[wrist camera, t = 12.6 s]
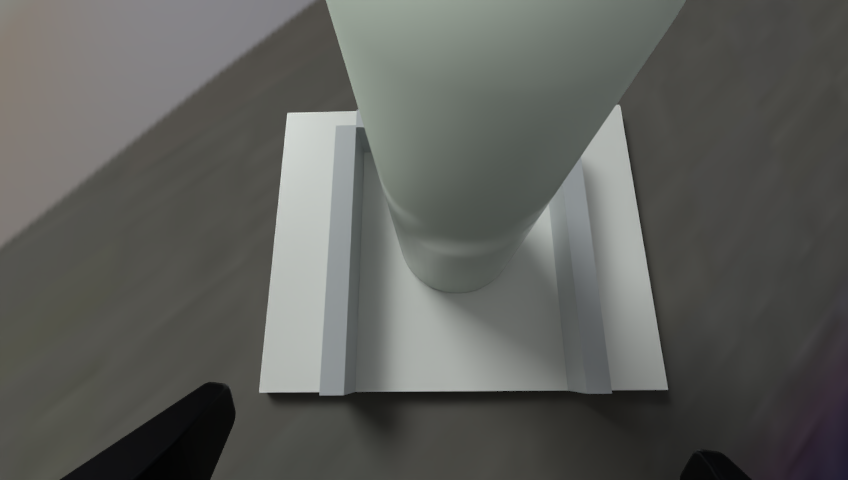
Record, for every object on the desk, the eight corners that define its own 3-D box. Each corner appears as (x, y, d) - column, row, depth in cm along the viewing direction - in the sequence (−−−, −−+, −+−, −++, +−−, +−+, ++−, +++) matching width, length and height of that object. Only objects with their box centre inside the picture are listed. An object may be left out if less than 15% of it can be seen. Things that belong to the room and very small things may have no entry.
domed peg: (516, 292, 16) (736, 86, 4) (399, 294, 16) (300, 97, 4) (508, 185, 18) (660, -198, 6) (400, 187, 18) (326, -184, 6)
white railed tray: (659, 388, 16) (701, 393, 13) (265, 391, 16) (233, 396, 14) (614, 112, 19) (641, 74, 17) (291, 120, 20) (270, 84, 17)
